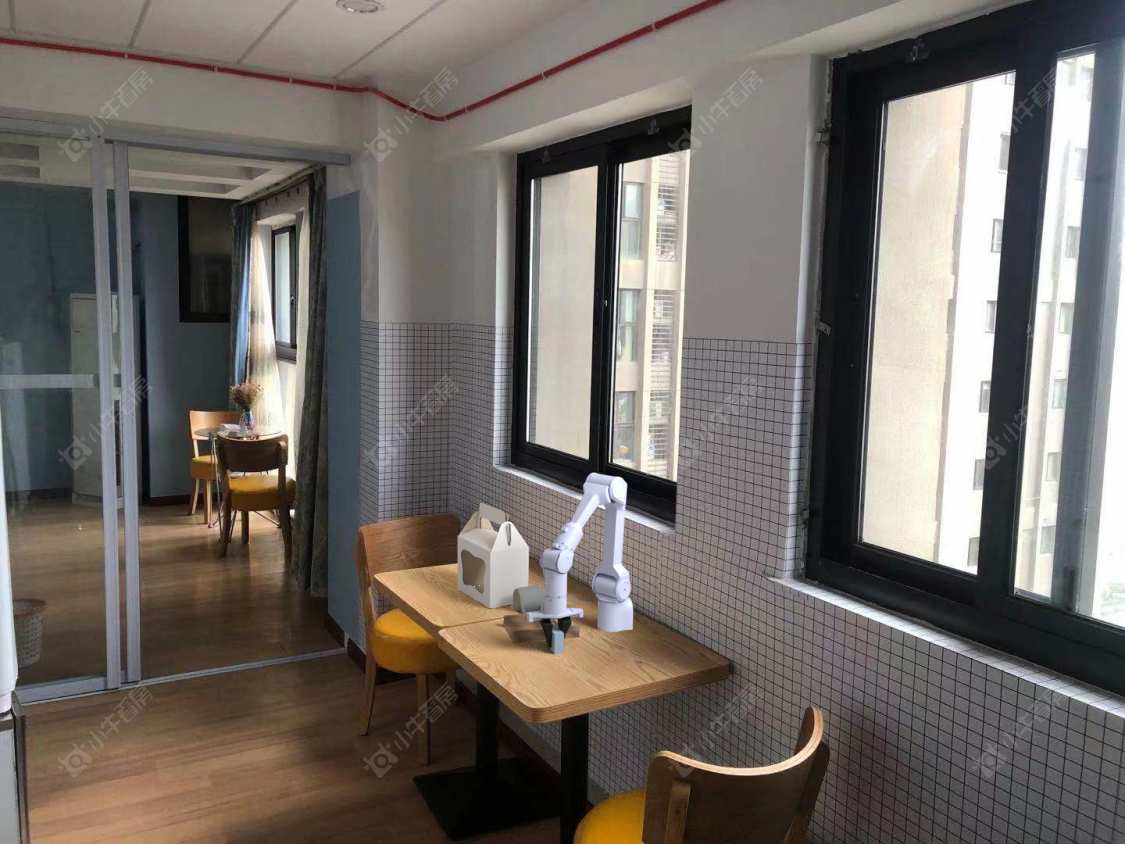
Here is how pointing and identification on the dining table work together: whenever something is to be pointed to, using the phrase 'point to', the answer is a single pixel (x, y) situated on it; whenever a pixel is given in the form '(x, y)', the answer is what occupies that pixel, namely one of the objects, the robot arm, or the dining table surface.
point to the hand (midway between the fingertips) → (554, 645)
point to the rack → (530, 629)
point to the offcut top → (557, 622)
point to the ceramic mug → (528, 598)
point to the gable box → (491, 558)
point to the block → (557, 640)
